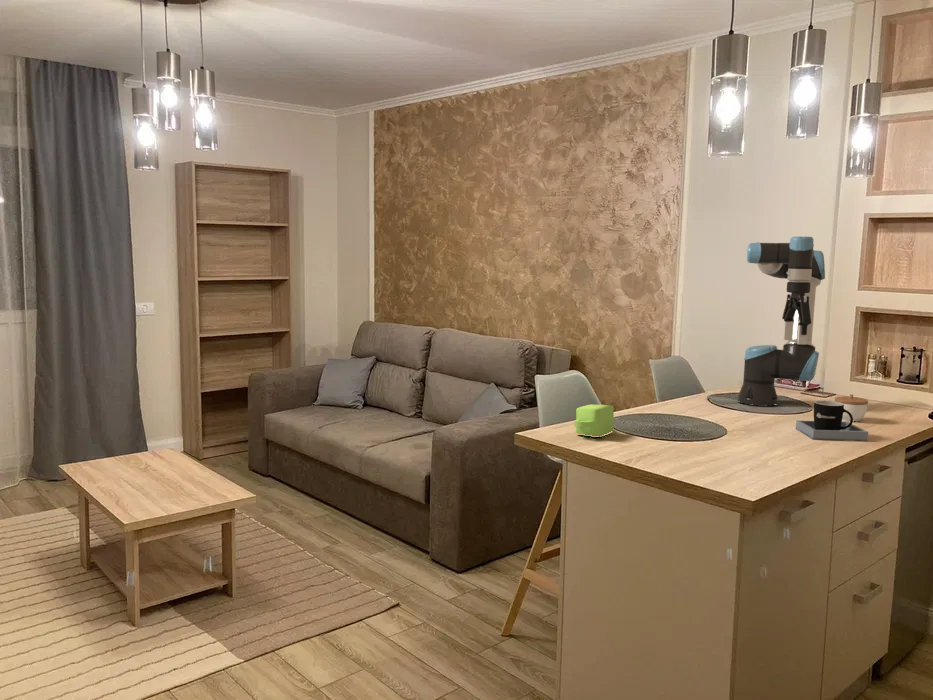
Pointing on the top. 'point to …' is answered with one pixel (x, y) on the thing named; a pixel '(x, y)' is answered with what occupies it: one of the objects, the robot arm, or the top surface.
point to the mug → (829, 415)
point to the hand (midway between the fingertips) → (794, 342)
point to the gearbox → (594, 419)
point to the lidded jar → (853, 407)
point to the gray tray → (831, 432)
